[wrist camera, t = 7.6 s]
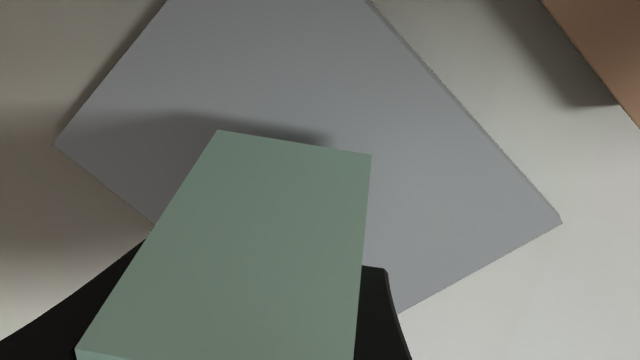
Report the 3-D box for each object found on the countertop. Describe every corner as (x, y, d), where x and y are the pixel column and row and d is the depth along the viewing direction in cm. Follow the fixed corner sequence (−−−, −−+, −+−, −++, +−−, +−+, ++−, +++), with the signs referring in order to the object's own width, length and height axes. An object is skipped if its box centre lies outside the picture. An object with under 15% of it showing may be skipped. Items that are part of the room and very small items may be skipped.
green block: (371, 154, 13) (349, 399, 7) (349, 270, 15) (318, 531, 9) (217, 129, 13) (74, 349, 7) (216, 247, 16) (105, 489, 10)
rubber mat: (558, 213, 16) (562, 223, 15) (322, 346, 20) (321, 356, 20) (265, -116, 12) (260, -115, 12) (60, 136, 17) (51, 144, 16)
